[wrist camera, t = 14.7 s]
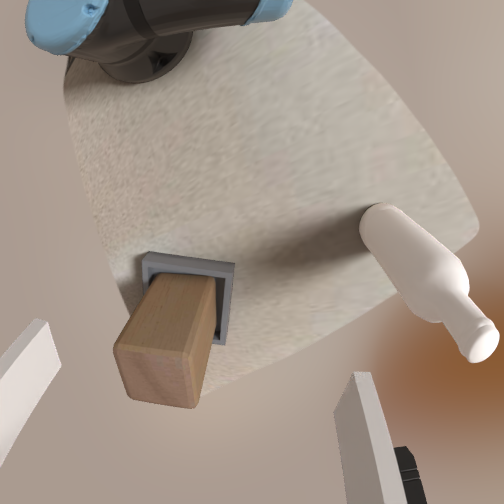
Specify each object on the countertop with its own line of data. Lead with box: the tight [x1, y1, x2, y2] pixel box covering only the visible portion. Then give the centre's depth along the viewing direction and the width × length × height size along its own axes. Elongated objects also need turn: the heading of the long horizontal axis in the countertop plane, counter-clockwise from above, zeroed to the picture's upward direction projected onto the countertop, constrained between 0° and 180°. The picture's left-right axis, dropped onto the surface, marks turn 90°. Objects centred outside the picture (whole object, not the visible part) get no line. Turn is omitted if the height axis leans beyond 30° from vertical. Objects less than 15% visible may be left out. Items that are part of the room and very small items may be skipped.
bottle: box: [359, 203, 499, 363], centre depth 33 cm, size 8×8×30 cm
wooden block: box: [113, 273, 217, 409], centre depth 43 cm, size 10×10×20 cm
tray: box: [142, 251, 235, 345], centre depth 52 cm, size 14×14×4 cm
